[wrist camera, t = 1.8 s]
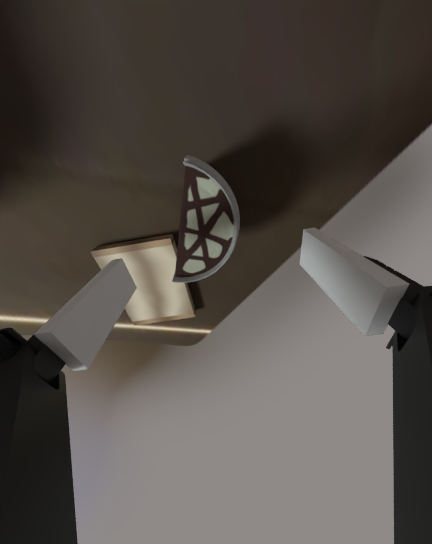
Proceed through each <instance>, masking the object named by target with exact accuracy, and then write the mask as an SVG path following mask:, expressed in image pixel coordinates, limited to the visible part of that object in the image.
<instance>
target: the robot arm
mask: <svg viewBox="0 0 432 544" xmlns="http://www.w3.org/2000/svg"><path fill="white" fill-rule="evenodd" d="M300 265H301V266H302V267H303V268H304V269H305V270H306V272H307V273H308V274H309V275H310V276H311V277H312V278H313V279H314V280H315V281H316V282H317V284H318V285H319V286H320V287H321V288H322V289H323V290H324V291H325V292H326V293H327V295H328V296H329V297H330V298H331V299H332V300H333V301H334V302H335V304H337V306H338V307H339V308H340V309H341V310H342V311H343V312H344V313H345V315H346V316H347V317H348V318H349V319H350V320H351V321H352V322H353V323H354V325H355V326H356V327H357V328H358V329H359V330H360V331H361V332H362V333H363V334H364V336H370V335H377V334H383V333H384V331H385V329H386V327H387V325H388V324H389V325H390V326H391V327H392V328H393V329H394V330H395V333H394V335H393V336H392V338H391V340H390V342H389V343H388V345H387V347H386V348H388V349H390V348H391V346H393V443H394V444H393V449H394V544H432V286H425V287H424V286H422V285H420V284H418V283H417V282H415V281H413V280H411V279H409V278H408V277H406V276H404V275H402V274H401V273H399V272H397V271H394V269H392V268H390V267H388V266H387V267H386V265H384V264H383V263H381V262H379V261H378V260H375V259H372V258H369V257H366V256H362V255H360V254H358V253H357V252H355V251H353V250H351V249H350V248H348V247H346V246H345V245H343V244H341V243H340V242H338V241H336V240H335V239H333V238H331V237H330V236H328V235H326V234H325V233H323V232H321V231H320V230H318V229H316V228H310V229H304V230H303V239H302V248H301V257H300ZM136 289H137V287H136V285H135V283H134V281H133V279H132V277H131V275H130V273H129V271H128V269H127V267H126V265H125V263H124V261H123V259H122V258H121V259H114V260H112V261H111V262H109V263H108V264H107V265H106V266H105V267H104V268H103V269H102V270H101V271H100V272H99V273H98V274H97V275H96V276H95V277H94V278H93V279H92V280H90V281H89V282H88V283H87V284H86V285H85V286H84V287H83V288H82V289H81V290H80V291H79V292H78V293H77V294H76V295H75V296H74V297H73V298H72V299H70V300H69V301H68V302H67V303H66V304H65V305H64V306H63V307H62V308H61V309H60V310H59V311H58V312H57V313H56V314H55V315H54V316H53V317H52V318H50V319H49V320H48V321H47V322H46V323H45V324H44V325H43V326H42V327H41V328H40V329H39V330H38V331H37V332H36V333H35V334H34V335H33V336H32V337H31V338H30V339H29V340H28V341H27V340H25V339H24V338H23V337H22V336H21V335H20V334H19V333H17V332H16V331H15V330H14V329H13V328H5V329H1V330H0V544H77V532H76V518H75V505H74V491H73V478H72V464H71V450H70V437H69V423H68V409H67V396H66V382H65V375H64V373H63V372H62V371H61V369H62V368H63V367H64V365H65V364H66V365H67V366H68V367H70V368H71V369H72V370H73V371H75V370H83V369H88V367H89V366H90V364H91V363H92V361H93V359H94V358H95V356H96V354H97V353H98V351H99V349H100V348H101V346H102V344H103V343H104V341H105V340H106V338H107V336H108V335H109V333H110V331H111V330H112V328H113V326H114V325H115V323H116V321H117V320H118V318H119V317H120V315H121V313H122V312H123V310H124V308H125V307H126V305H127V303H128V302H129V300H130V298H131V297H132V295H133V294H134V292H135V290H136Z"/></svg>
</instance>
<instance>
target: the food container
mask: <svg viewBox="0 0 432 544" xmlns="http://www.w3.org/2000/svg"><path fill="white" fill-rule="evenodd" d="M183 164H184V165H185V166H186V169H185V176H184V178H185V181H184V191H183V201H182V211H181V220H180V228H179V239H178V249H177V259H176V269H175V273H174V277H173V280H172V282H175V283H187V282H193V281H197V280H201V279H204V278H206V277H208V276H210V275H211V274H213V273H214V272H216V271H217V270H218V269H219V268H220V267H221V266H223V265H224V264H225V262H226V261H227V260H228V259H229V257H230V256H231V254H232V252H233V250H234V248H235V245H236V243H237V238H238V234H239V228H240V216H239V208H238V205H237V201H236V198H235V196H234V194H233V192H232V190H231V188H230V187H229V185H228V184H227V182H226V181H225V179H224V178H223V177H222V176H221V175H220V174H219V173H218V172H217V171H216V170H215V169H213V168H212V167H211V166H210V165H208V164H207V163H205V162H203V161H201V160H199V159H197V158H195V157H192V156H189V155H187V156H186V157H185V160H184V162H183Z"/></svg>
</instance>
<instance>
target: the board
mask: <svg viewBox="0 0 432 544" xmlns="http://www.w3.org/2000/svg"><path fill="white" fill-rule="evenodd" d="M90 252H91V254H92V255H93V257H94V258H95V260H96V262H97V263H98V265H99V267H100V268H101V270H102V269H103V268H104V267H105V266H106V265H107V264H108V263H109V262H111V261H112V260H114V259H121V258H122V259H123V261H124V263H125V265H126V267H127V269H128V271H129V273H130V275H131V277H132V279H133V281H134V283H135V285H136V287H137V289H136V290H135V292H134V294H133V295H132V297H131V298H130V300H129V302H128V303H127V305H126V307H125V310H126V312H127V313H128V315H129V317H130V318H131V320H132V322H133V324H134V325H141V324H148V323H155V322H162V321H169V320H176V319H184V318H191V317H195V311H196V310H195V306H194V303H193V300H192V296H191V293H190V290H189V287H188V283H175V282H172V280H173V277H174V273H175V269H176V259H177V247H176V244H175V240H174V237H173V234H169V235H163V236H157V237H151V238H145V239H139V240H133V241H127V242H121V243H115V244H109V245H103V246H97V247H96V248H94V249H93V250H92V251H90Z"/></svg>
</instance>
